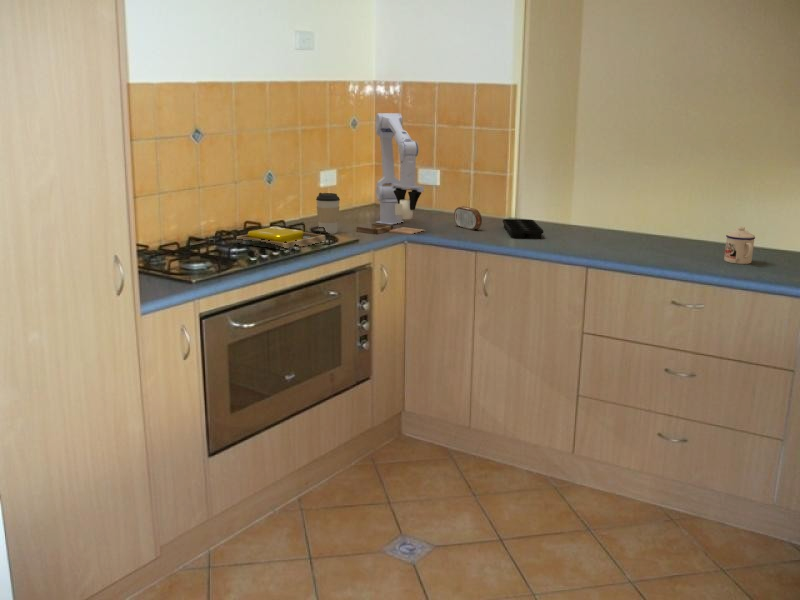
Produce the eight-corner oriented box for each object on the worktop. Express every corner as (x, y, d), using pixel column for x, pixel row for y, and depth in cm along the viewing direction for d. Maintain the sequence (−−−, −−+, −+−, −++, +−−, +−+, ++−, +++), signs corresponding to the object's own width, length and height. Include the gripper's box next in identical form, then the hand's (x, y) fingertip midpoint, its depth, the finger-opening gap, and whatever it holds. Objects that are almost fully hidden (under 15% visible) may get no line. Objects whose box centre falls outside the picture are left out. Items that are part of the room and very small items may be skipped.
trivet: (403, 228, 341) (403, 227, 341) (424, 231, 336) (424, 229, 336) (389, 231, 333) (389, 230, 333) (411, 234, 328) (411, 233, 328)
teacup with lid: (718, 259, 294) (722, 225, 291) (742, 258, 295) (746, 225, 292) (736, 266, 282) (741, 231, 279) (762, 266, 284) (766, 230, 281)
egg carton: (513, 241, 322) (513, 231, 321) (488, 227, 351) (489, 218, 350) (557, 240, 326) (558, 230, 325) (529, 227, 354) (530, 218, 353)
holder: (373, 227, 341) (373, 223, 341) (392, 230, 336) (392, 225, 336) (356, 231, 332) (356, 226, 332) (376, 234, 327) (376, 229, 327)
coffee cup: (341, 231, 332) (341, 192, 329) (337, 234, 324) (337, 194, 320) (318, 230, 333) (318, 191, 330) (313, 234, 325) (313, 194, 321)
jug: (400, 220, 327) (400, 202, 326) (391, 218, 331) (391, 200, 329) (415, 218, 332) (415, 200, 330) (406, 216, 336) (406, 198, 334)
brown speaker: (482, 231, 340) (482, 209, 338) (475, 231, 339) (476, 210, 337) (458, 225, 352) (459, 204, 350) (452, 226, 351) (453, 205, 349)
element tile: (245, 243, 304) (245, 230, 303) (273, 238, 316) (273, 225, 315) (278, 248, 296) (278, 235, 295) (305, 242, 309) (305, 229, 308)
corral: (278, 235, 320) (278, 228, 319) (325, 242, 308) (325, 235, 308) (236, 243, 302) (236, 236, 301) (285, 251, 290) (284, 243, 290)
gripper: (429, 174, 327) (428, 210, 330) (400, 171, 336) (399, 206, 339) (417, 175, 322) (416, 211, 325) (388, 172, 331) (387, 207, 334)
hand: (407, 209), depth 332 cm, fingers closed on jug, 5 cm apart
